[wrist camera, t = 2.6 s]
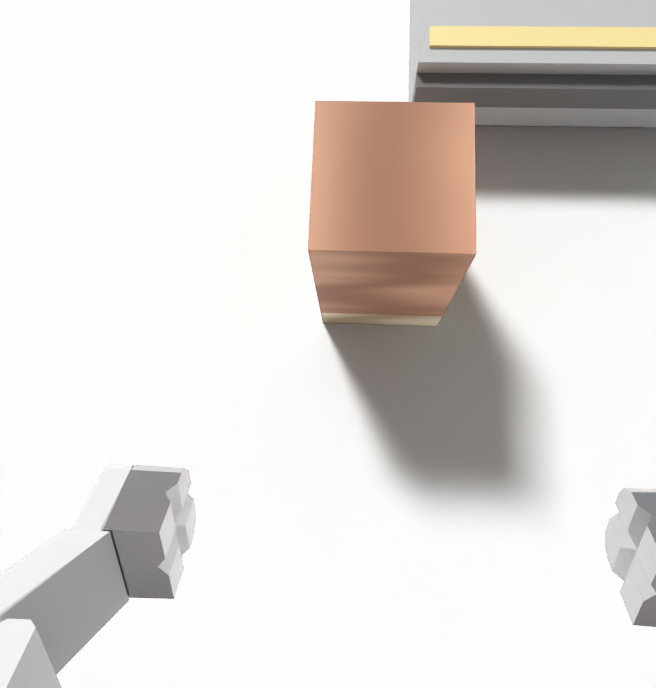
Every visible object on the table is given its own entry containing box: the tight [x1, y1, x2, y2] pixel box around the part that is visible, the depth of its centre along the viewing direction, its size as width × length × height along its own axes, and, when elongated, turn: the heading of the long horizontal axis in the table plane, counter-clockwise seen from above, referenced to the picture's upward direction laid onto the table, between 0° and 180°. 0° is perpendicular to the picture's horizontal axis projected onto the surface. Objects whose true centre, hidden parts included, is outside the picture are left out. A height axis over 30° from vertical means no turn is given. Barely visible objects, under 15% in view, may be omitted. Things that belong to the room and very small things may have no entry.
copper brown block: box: [308, 101, 476, 326], centre depth 21 cm, size 4×4×8 cm
